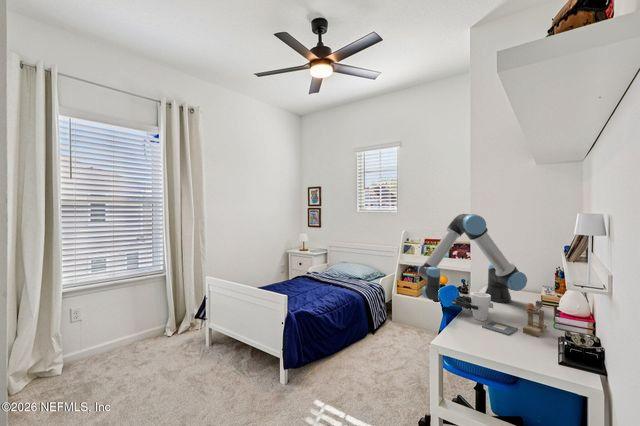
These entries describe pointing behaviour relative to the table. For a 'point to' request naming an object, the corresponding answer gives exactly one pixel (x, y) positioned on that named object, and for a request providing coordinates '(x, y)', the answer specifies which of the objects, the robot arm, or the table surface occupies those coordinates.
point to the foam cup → (480, 300)
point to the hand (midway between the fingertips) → (489, 307)
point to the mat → (500, 327)
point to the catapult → (535, 327)
